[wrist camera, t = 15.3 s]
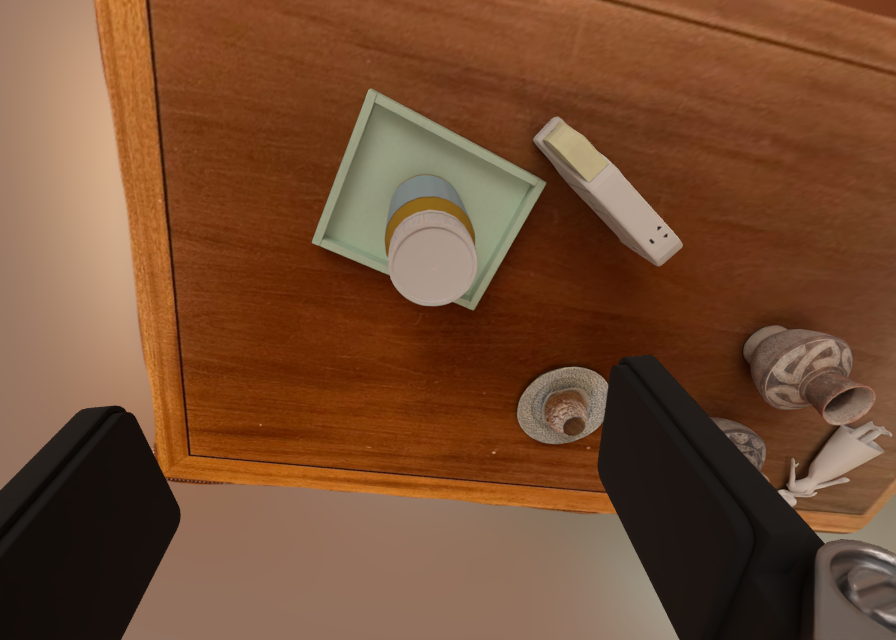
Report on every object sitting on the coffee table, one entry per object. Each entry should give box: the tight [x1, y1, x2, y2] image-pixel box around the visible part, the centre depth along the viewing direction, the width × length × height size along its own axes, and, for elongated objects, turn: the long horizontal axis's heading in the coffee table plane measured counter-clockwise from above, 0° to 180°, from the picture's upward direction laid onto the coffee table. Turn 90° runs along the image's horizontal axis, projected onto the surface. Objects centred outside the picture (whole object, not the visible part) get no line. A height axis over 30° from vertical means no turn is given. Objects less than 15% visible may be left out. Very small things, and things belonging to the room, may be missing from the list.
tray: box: [312, 89, 546, 311], centre depth 43 cm, size 18×15×2 cm
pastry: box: [517, 366, 608, 444], centre depth 55 cm, size 12×12×5 cm
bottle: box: [385, 174, 478, 306], centre depth 37 cm, size 7×7×15 cm
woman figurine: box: [778, 421, 892, 508], centre depth 64 cm, size 12×4×18 cm
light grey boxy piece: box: [533, 117, 683, 266], centre depth 40 cm, size 11×3×15 cm
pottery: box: [711, 325, 876, 483], centre depth 53 cm, size 11×25×12 cm, turn 156°
